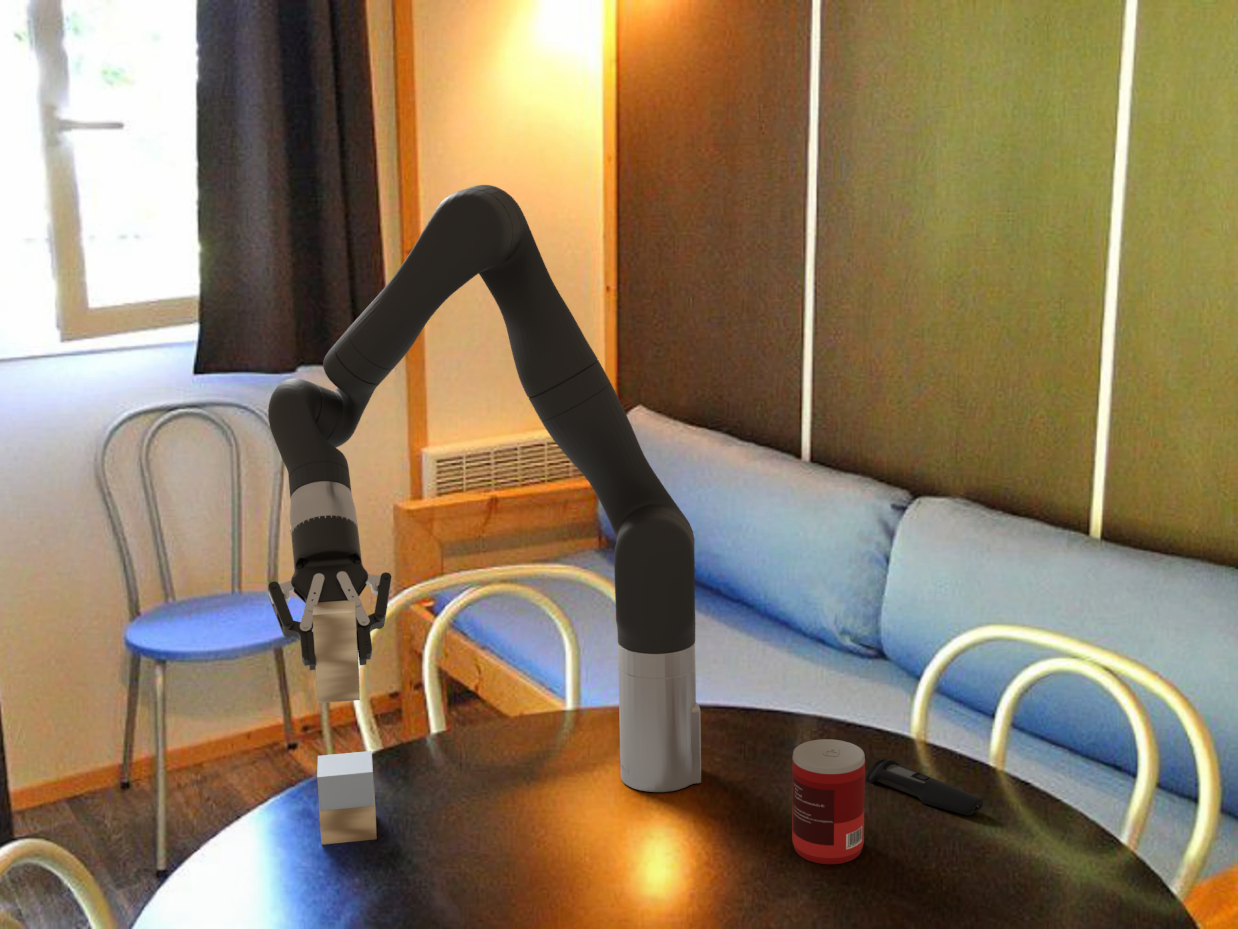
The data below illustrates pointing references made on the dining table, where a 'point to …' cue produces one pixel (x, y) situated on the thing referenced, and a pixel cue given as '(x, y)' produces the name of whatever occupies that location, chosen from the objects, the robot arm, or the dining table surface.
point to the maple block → (336, 651)
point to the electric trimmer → (924, 787)
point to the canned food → (828, 801)
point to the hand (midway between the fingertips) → (338, 663)
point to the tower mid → (345, 781)
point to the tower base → (348, 825)
